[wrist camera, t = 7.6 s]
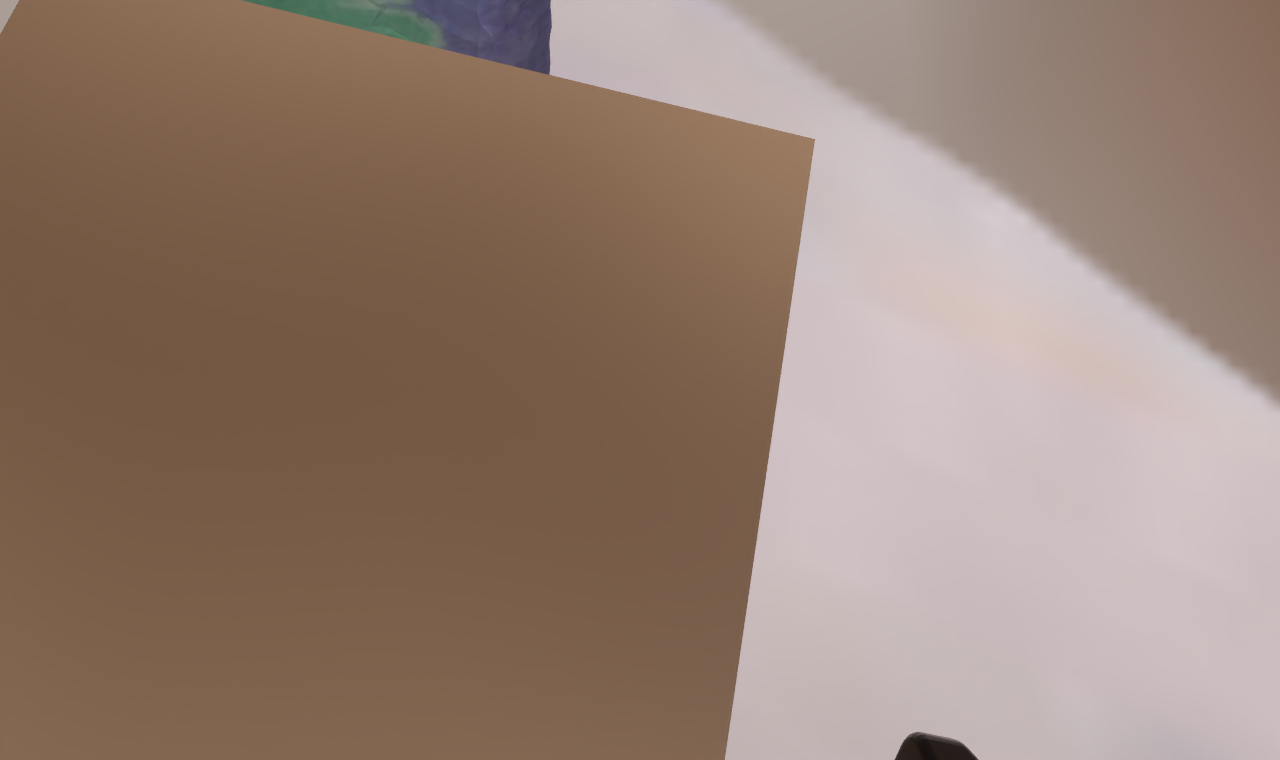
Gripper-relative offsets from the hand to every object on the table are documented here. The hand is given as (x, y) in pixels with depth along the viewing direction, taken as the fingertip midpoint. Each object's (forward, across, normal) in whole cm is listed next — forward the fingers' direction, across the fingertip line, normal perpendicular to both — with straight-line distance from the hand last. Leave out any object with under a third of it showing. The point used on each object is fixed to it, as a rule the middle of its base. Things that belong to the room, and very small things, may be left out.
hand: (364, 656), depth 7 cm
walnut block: (+8, 0, +6) cm, 10 cm away
